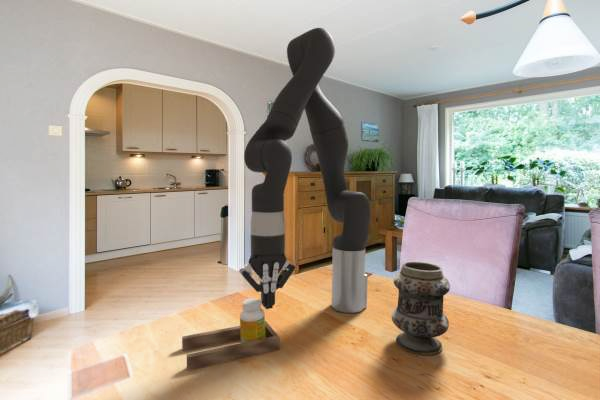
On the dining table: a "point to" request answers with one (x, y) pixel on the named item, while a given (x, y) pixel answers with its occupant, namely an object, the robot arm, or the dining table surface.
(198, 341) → the walnut U-rest
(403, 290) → the apothecary jar
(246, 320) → the supplement bottle
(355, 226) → the robot arm
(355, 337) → the dining table surface
